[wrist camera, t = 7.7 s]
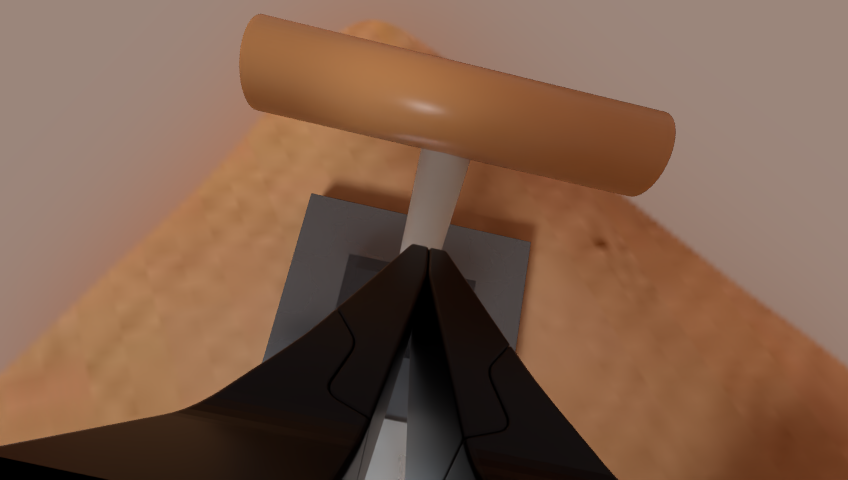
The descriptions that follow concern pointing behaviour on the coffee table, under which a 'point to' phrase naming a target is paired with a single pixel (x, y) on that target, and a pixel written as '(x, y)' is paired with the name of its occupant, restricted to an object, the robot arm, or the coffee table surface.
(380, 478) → the switch panel
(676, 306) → the coffee table surface
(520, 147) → the lever
